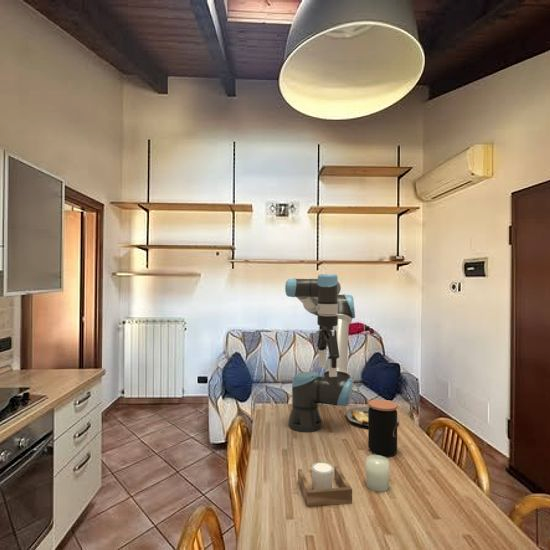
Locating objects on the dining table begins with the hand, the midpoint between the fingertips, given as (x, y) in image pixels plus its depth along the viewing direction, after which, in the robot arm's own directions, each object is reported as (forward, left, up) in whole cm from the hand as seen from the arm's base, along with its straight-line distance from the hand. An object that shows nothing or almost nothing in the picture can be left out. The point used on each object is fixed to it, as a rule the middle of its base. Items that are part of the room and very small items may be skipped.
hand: (327, 371), depth 135 cm
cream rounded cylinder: (+22, +10, -31) cm, 39 cm away
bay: (+22, -8, -31) cm, 39 cm away
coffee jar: (0, +22, -31) cm, 38 cm away
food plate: (-31, +31, -32) cm, 54 cm away
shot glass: (+22, -8, -31) cm, 39 cm away
